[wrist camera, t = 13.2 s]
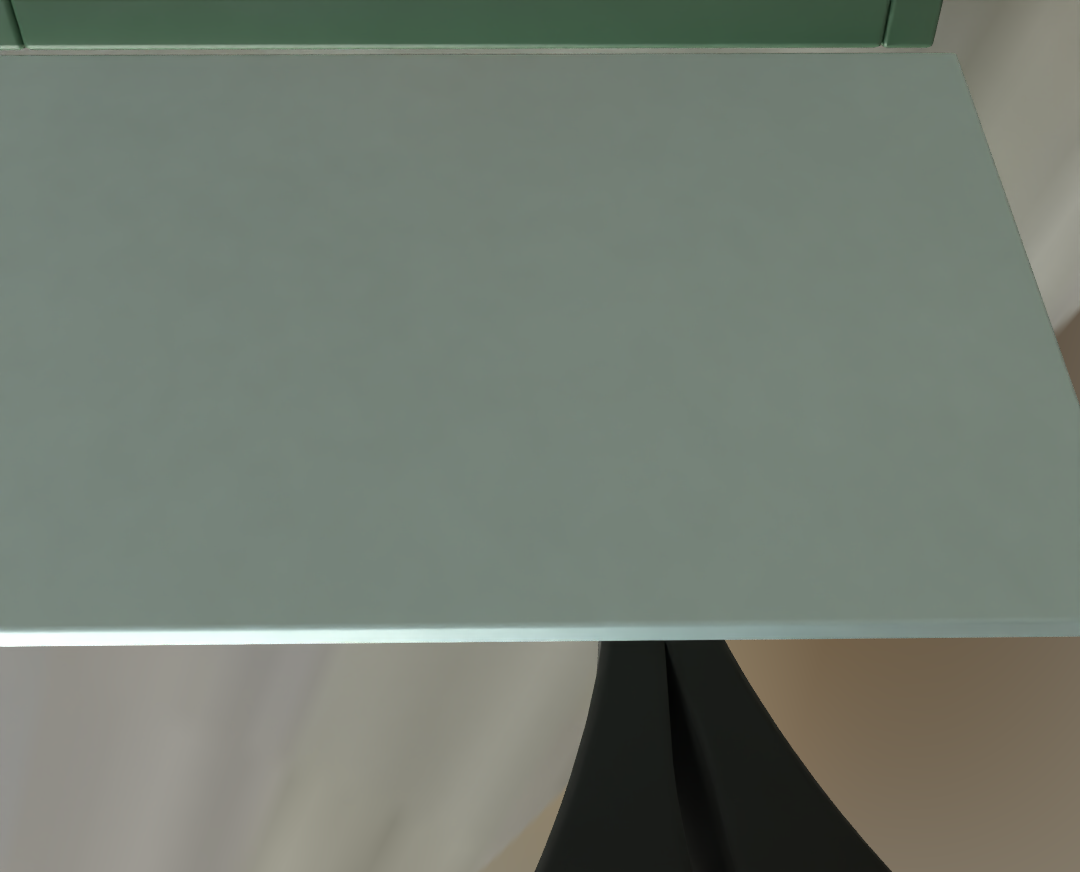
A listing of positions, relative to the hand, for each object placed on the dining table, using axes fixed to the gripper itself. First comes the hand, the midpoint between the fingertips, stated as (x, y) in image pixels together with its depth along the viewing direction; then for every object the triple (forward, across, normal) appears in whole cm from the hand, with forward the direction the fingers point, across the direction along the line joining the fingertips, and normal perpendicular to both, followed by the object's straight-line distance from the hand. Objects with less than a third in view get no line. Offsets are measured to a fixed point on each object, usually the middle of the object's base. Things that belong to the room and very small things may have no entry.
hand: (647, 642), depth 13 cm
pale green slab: (-1, +2, -6) cm, 7 cm away
